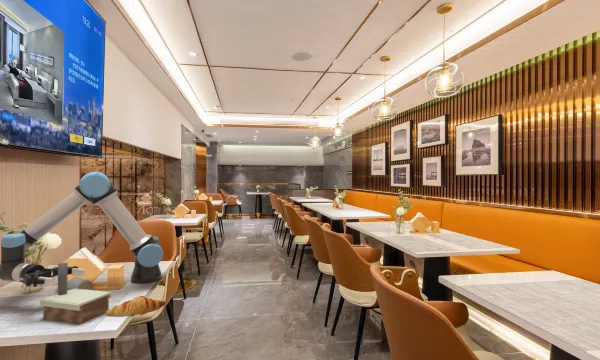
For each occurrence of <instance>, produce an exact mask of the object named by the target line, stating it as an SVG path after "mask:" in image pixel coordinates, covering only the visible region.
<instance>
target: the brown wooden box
mask: <svg viewBox="0 0 600 360" xmlns="http://www.w3.org/2000/svg"><path fill="white" fill-rule="evenodd" d="M109 299H110V298H109V295H107V296H105V297H102V298H100V299H97V300H95V301H92V302H89V303H87V304H84V305H82V306H80V310H79V311H76V310H69V309H61V308H54V307H47V306H43V307H42V308H43V309H42V310H43V312H42V313H43V314H42V315H43V317H42V318H43V320H47V321H55V322H60V323H61V322H63V323H67V324H68V323H69V324H74V325H82V324H85V323H86V322H88V321H90V320H93V319H95V318H97V317H100V316H103V315H104V314H106V311H107V310H110V309H109V307H110V305H109V303H110V302H109V301H110V300H109Z"/></svg>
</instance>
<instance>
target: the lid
mask: <svg viewBox="0 0 600 360" xmlns="http://www.w3.org/2000/svg"><path fill="white" fill-rule="evenodd" d="M68 265H69V264H68V262H61V263H58V264H57V267H58V276H57V293H56V294H54V295H49V296H48V297H44V298H41V299H40V300H39V301H40V302H39V306H41V307H44V306H47V307H54V308H61V309H69V310H76V311H79V310H80V306H82V305H84V304H87V303H89V302H92V301H95V300H97V299H100V298H102V297H105V296H107V295H109V299H110V298H112V292H110V291H101V290H95V289H94V290H86V289H77V288H74V289H71V290H68V291H67V283H68V275H67V267H69V266H68Z"/></svg>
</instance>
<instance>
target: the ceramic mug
mask: <svg viewBox="0 0 600 360" xmlns="http://www.w3.org/2000/svg"><path fill="white" fill-rule="evenodd" d="M74 288H77V289H86V290H95V288H96V287H95V286H93V285H92V282H91V281H90V280H89V279H86V278H82V277H78V276H77V277H76V276H75V277H72V278H70V280H67V291H68V290H71V289H74Z"/></svg>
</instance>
